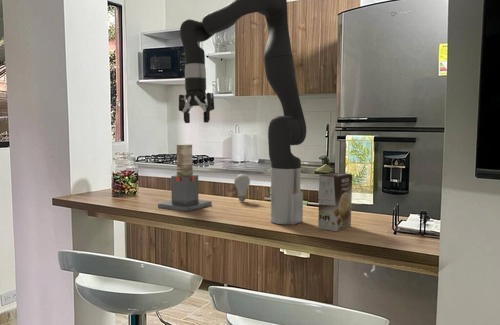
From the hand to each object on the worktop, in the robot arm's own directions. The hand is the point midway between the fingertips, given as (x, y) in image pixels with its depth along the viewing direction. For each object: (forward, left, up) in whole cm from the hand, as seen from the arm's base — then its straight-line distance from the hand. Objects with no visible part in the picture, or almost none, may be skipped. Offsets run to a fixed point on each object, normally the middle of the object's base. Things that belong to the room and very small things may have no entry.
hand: (196, 122), depth 163 cm
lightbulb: (-8, -18, -31) cm, 37 cm away
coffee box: (-54, +3, -31) cm, 63 cm away
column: (+5, +1, -23) cm, 24 cm away
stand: (+5, +1, -31) cm, 31 cm away
